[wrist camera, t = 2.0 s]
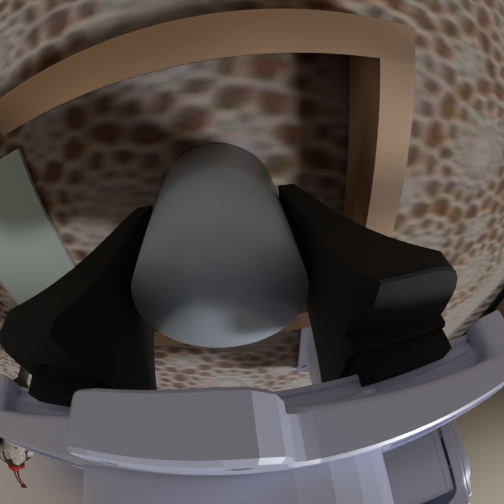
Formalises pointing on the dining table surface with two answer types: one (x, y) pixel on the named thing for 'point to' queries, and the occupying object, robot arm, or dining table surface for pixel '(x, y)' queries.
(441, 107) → the dining table surface
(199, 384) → the dining table surface
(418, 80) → the dining table surface
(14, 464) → the sundae
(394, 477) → the robot arm
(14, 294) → the mat
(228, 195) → the grey rounded cylinder
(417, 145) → the dining table surface
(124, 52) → the wooden frame
